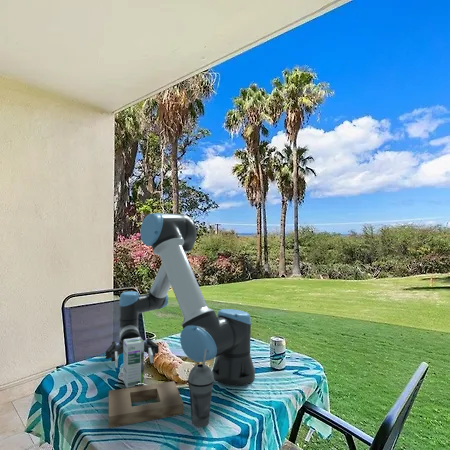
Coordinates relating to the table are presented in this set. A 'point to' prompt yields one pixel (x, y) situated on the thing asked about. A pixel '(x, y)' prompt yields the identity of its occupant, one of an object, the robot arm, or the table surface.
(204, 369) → the beverage cup
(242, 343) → the robot arm
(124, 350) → the syrup box
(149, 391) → the walnut board
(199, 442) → the table surface
